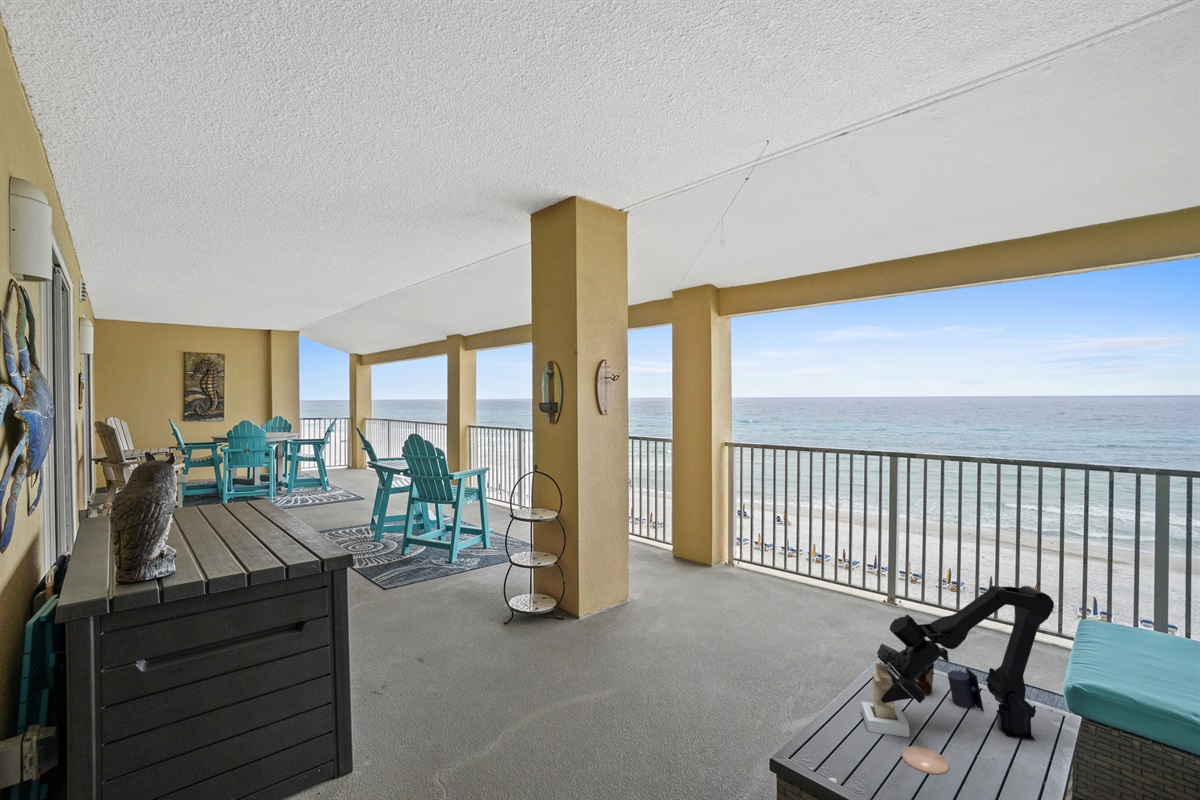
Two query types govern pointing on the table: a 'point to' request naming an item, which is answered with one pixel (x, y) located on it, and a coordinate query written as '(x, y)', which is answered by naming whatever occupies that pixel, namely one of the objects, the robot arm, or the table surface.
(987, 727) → the table surface
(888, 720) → the socket
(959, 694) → the speaker
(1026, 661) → the robot arm
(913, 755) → the peach flat disc
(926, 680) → the coffee cup
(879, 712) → the wooden block tower
